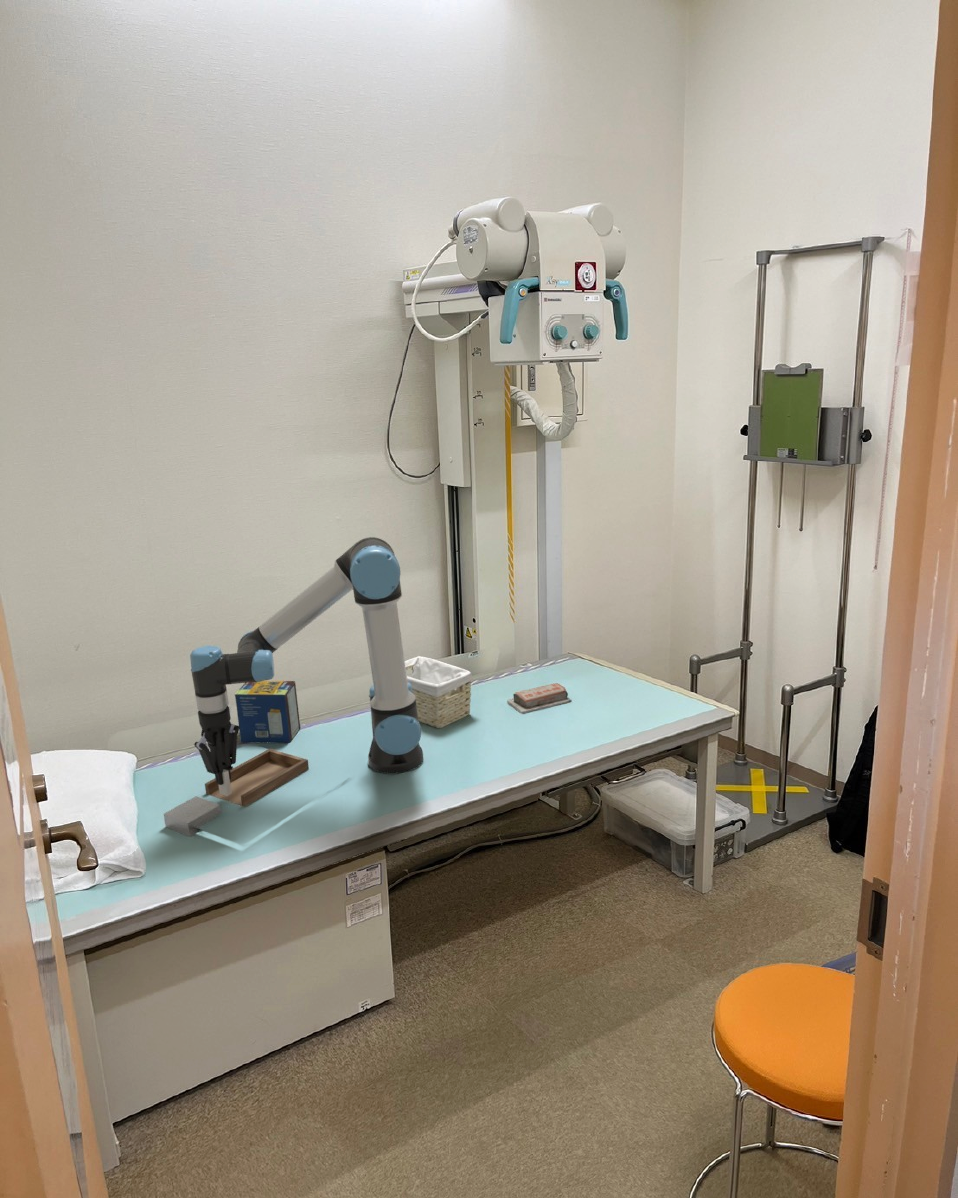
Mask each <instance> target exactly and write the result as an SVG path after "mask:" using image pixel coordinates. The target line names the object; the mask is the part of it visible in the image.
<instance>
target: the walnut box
mask: <svg viewBox="0 0 958 1198" xmlns="http://www.w3.org/2000/svg"><path fill="white" fill-rule="evenodd" d="M306 771H309V760H308V759H307V758H303V757H300V756H297V755H292V754H289V753H285V752H283V751H278V750H276V749H275V750H274V749H272V748H268V749H266V750H265V751H262V752H260V753H259V754H257V755H255V756H254V757H252V758H250V759H248V760H246V761H244V762H242V763H241V764H239V765H237V766H235V767H233V769H232V770H230V772H231V780H230V786H231V793H232V794H230V795H228V796H225V795H222V794H220V792H219V785H218V784H217V783H216V779H215V777H214V778H213V779H211V780H209V781H207V782H205V783H204V788H205V794H206V795H209V796H211V797H215V798H217V799H221V800H224V801H226V802H230V803H232V804H235V805H239V806H242V807H245V808H246V807H248V806H249V805H251V804H253V803H254V802H256V801H258V800H260V799H261V798H263V797H265V796H266V795H268V794H270V793H271V792H273V791H275V790H277V789H278V788H280V787H281V786H283V785H285V784H286V783H288V782H290V781H291V780H293V779H295V778H297V777H298V776H300V775H302V774H303V773H305V772H306Z"/></svg>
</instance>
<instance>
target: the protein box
mask: <svg viewBox="0 0 958 1198" xmlns="http://www.w3.org/2000/svg"><path fill="white" fill-rule="evenodd" d="M234 697H235V707H236V713H237V721H238V726H239V731H238V732H239V738H240V743H247V742H254V743H255V742H260V743H259V744H261V743H263V742H264V743H263V744H267V742H268V744H291V743H292V741H293V740H294V738H295V736H296V735H297V734H298V732H299V730H300V729H301V722H300V715H299V714H300V713H299V703H298V694H297V685H296V681H295V680H286V681H284V680H275V681H273V680H271V681H270V680H265V681H261V682H248V683H243V685H242V686H241V687H240V688H238V690H237V691H236V692H235V693H234ZM254 743H253V744H254ZM255 744H256V743H255Z"/></svg>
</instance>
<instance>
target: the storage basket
mask: <svg viewBox="0 0 958 1198" xmlns="http://www.w3.org/2000/svg"><path fill="white" fill-rule="evenodd" d="M404 661H405V668H406V671H408V669H411V671H412V673H411V674H409V675H406V676H407V682H409V683H410V684H411V685H412V690H413V694H414V695H415V698H416V706H417V713H418V720H419V723H423V724H425V725H429V726H431V727H434V728H437V729H442V728H444V727H446V726H448V725H450V724H453V723H455V722H456V721H459V720H461V719H464V718H466V717H467V716H468V715H470V714H471V700H472V699H471V696H472V690H471V684H472V683H471V682H472V681H473V675H472V672H471V671H469V670H467V669H464V668H463V667H459V666H455V665H453V664H449V663H446V662H443V661H440V660H437V659H434V658H430V657H425V656H421V655H417V656H415V657H413V658H410V659H407V660H404Z"/></svg>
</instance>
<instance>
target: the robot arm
mask: <svg viewBox="0 0 958 1198" xmlns="http://www.w3.org/2000/svg"><path fill="white" fill-rule="evenodd" d="M401 587H402V586H401V567H400V563H399V560H398V559H397V557H396V556H395V552H394V549H393V548H392V546H391V545H390V544H389V543H388V542H387V541H386V540H385V539H382V538H380V537H375V536H372V537H371V536H370V537H365V538H362V539H359V540H358V541H357V542H355V543H354V544H353V545H351V547H350V548H348V549H347V550H346V551H344V553H342V554H341V555H340V556H339V557H338V558H336V559H335V560H334V565H333V566H332V567H331V568H330V569H329V570H328V571H326V572H325V573H324V574H322V576H321V577H319V578H317V580H316V581H314V582H313V583H312V584H310V585H309V586H307V588H305V589H304V590H303V591H302V592H300V593H299V594H298V595H297V596H296V597H294V598H292V600H291V601H289V602H288V603H286V604H285V605H283V606H282V608H281V609H279V610H278V611H276V612H275V613H274V614H273V615H272V616H270V617H269V618H268V619H267V620H265V621H264V622H263V623H262V624H260V625H259V626H258V627H257V628H255V629H254V630H251V631H247V632H245V634H243V635H242V636H241V637H240V639H239V642H238V643H237V644H238V645H237V652H235V653H223V651H222V649H221V648H220V646H217V645H204V646H203V645H202V646H201V647H197V648H195V649H194V650H192V652H191V653H190V655H189V656H190V657H189V658H190V666H191V669H190V672H191V676H192V682H193V689H194V695H195V702H196V708H197V710H198V712H197V715H198V722H199V725H200V728H201V732H200V733H201V734H200V737H201V738H200V739H199V740H198V741H195V742H194V744H193V745H194V747H195V748H196V749H197V750H198V751H199V754H200V756H201V758H202V759H201V760H202V762H203V764H204V765H203V766H204V768H205V769H206V773H209V774H212V775H214V776H215V777H214V778H215V779H216V783H217V784H218V785H219V792H220V794H222V795H225V796H228V795H230V794H232V793H231V786H230V780H231V772H230V770H232V769H233V768H234V766H232V765H234V764H236V762H237V747H238V745H237V744H238V734H239V732H240V731H239V725H236V724H233V723H232V722H231V712H230V707H229V703H230V702H229V696H228V691H227V685H237V684H238V685H239V684H245V683H248V682H261V681H270V680H272V679H274V677H275V664H274V656H273V653H275V652H276V651H277V650H278V649H279V648H281V647H282V646H283V645H285V644H286V643H287V642H288V641H289V640H291V639H292V638H293V637H295V636H296V635H297V634H298V633H300V632H301V631H302V630H303V629H305V627H307V626H309V625H310V624H311V623H312V622H313V621H315V620H316V619H317V618H319V617H320V616H321V615H322V614H324V613H325V612H326V611H327V610H328V609H330V608H331V607H332V606H334V605H335V604H336V603H338V602H339V601H340V600H341V599H343V598H344V597H345V596H347V594H348V593H350V592H352V591H353V598H354V602H355V604H356V605H358V606H359V607H360V608H361V610H362V616H363V623H364V629H365V637H366V644H367V650H368V656H369V657H368V658H369V663H370V671H371V679H372V685H371V686H370V688H369V695H368V697H369V704H370V705H369V706H370V717H371V728H372V730H371V731H372V739H371V743H370V747H369V751H368V756H367V759H368V761H367V762H368V766H369V768H370V769H371V770H373V771H376V772H379V773H380V774H402V773H407V772H410V771H412V770H415V769H417V768H419V766H421V765H422V764H423V763H424V751H423V749H422V747H421V745H420V740H421V736H422V727H421V726H422V725H421V724H420V722H419V720H418V713H417V706H416V698H415V695H414V694H413V690H412V685H411V684H410V683H409V682H407V676H408V675H407V670H406V668H405V661H406V660H405V654H404V649H403V648H404V647H403V640H402V632H401V625H400V618H399V611H398V602H399V600H400V599H401V598H402V597H403V594H402V593H403V592H402V588H401Z"/></svg>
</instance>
